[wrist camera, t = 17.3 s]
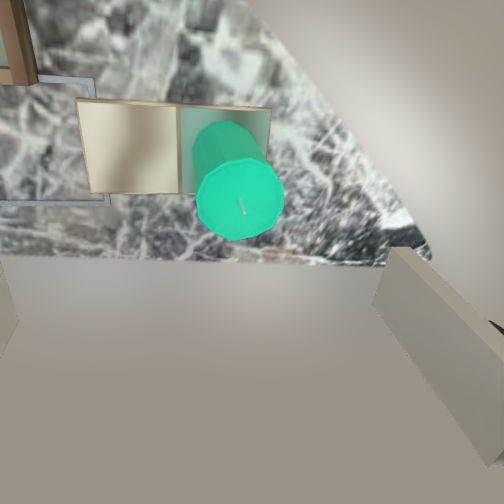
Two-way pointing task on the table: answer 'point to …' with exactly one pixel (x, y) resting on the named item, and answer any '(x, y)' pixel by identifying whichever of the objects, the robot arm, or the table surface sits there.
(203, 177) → the candle
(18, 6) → the tray
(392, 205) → the table surface
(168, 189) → the beige green flat slab
